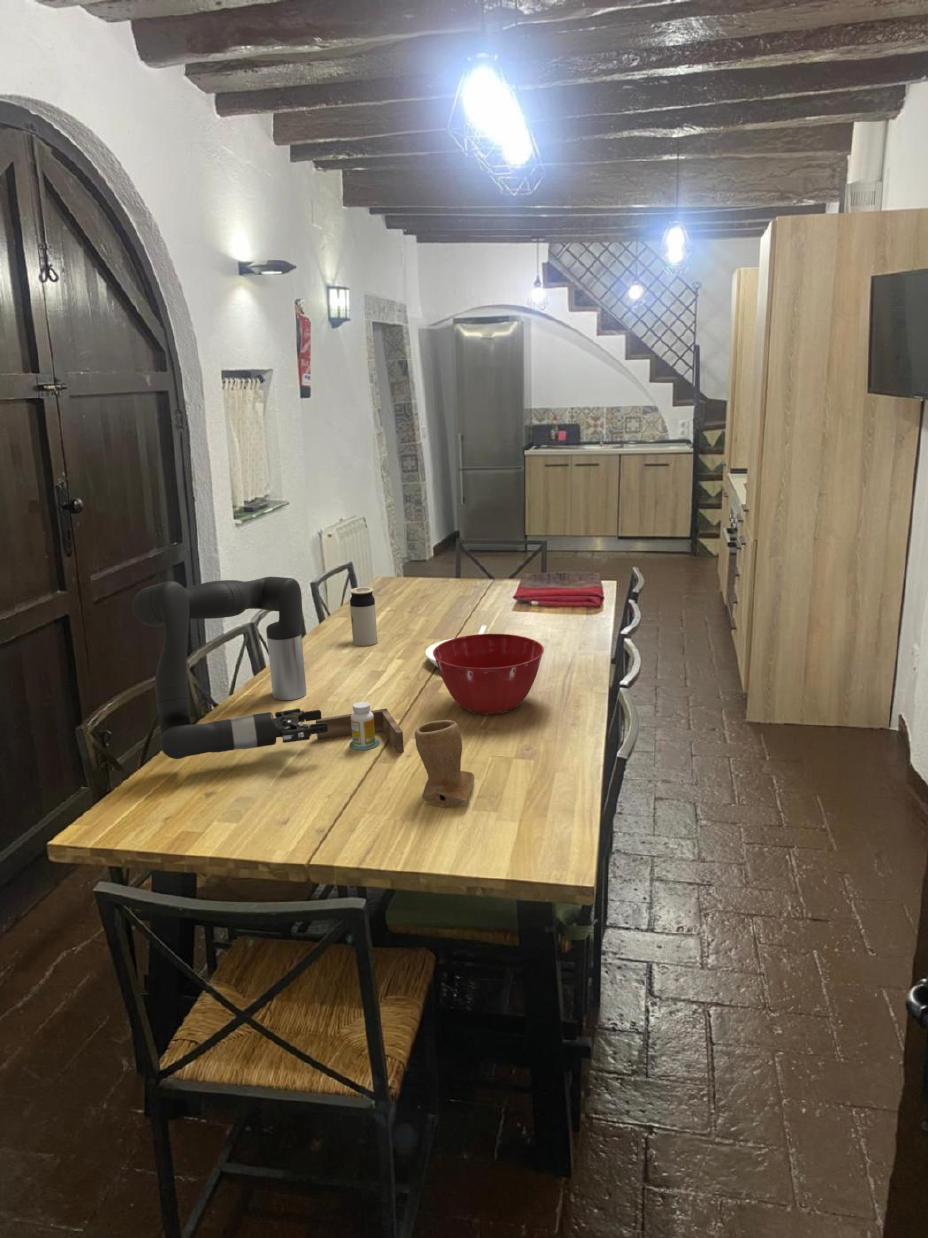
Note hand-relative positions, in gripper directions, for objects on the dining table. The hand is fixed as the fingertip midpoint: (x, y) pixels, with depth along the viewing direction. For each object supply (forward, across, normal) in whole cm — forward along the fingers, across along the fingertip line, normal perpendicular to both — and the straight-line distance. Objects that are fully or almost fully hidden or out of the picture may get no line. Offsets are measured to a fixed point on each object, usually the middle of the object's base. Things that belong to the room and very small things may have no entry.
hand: (324, 720), depth 208 cm
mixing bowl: (+45, +12, +8) cm, 47 cm away
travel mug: (+27, +82, +8) cm, 87 cm away
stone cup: (+19, -32, +8) cm, 38 cm away
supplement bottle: (+9, 0, +7) cm, 12 cm away
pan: (+56, +55, +8) cm, 79 cm away
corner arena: (+8, 0, +8) cm, 11 cm away
